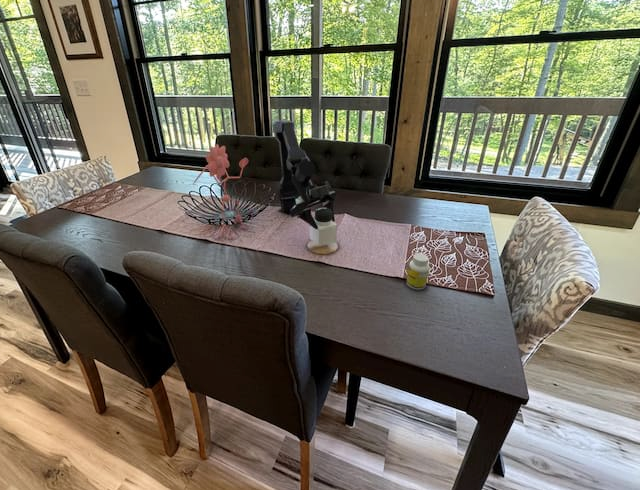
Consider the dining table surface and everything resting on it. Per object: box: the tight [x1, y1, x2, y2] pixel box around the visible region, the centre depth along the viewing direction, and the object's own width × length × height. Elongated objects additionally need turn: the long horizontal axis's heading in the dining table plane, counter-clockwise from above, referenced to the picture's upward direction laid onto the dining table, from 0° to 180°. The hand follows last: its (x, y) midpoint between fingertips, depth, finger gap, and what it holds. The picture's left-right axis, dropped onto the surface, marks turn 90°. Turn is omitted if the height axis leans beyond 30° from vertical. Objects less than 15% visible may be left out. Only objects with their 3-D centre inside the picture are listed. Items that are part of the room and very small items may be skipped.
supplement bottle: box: [405, 252, 431, 291], centre depth 90 cm, size 5×5×10 cm
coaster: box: [306, 239, 339, 255], centre depth 114 cm, size 11×11×1 cm
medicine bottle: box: [309, 207, 338, 246], centre depth 110 cm, size 7×7×12 cm
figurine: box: [193, 143, 249, 240], centre depth 120 cm, size 15×26×35 cm, turn 149°
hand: (325, 225), depth 109 cm, fingers closed on medicine bottle, 8 cm apart
